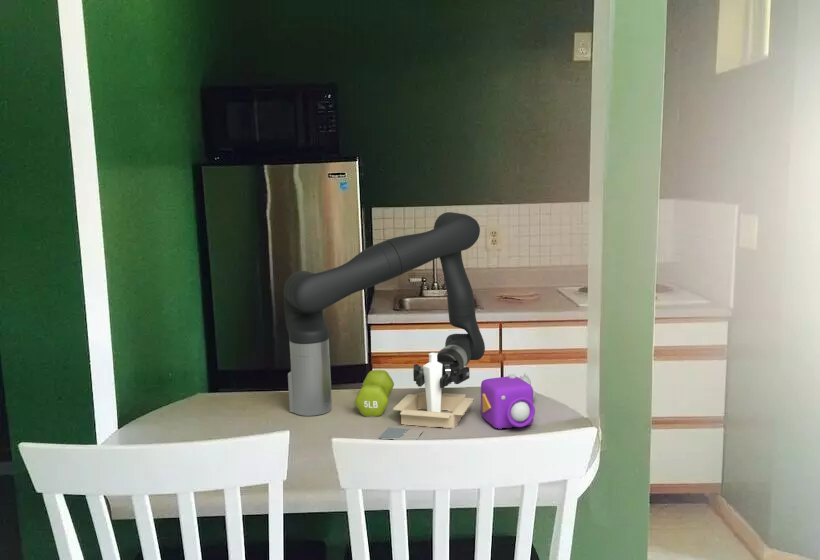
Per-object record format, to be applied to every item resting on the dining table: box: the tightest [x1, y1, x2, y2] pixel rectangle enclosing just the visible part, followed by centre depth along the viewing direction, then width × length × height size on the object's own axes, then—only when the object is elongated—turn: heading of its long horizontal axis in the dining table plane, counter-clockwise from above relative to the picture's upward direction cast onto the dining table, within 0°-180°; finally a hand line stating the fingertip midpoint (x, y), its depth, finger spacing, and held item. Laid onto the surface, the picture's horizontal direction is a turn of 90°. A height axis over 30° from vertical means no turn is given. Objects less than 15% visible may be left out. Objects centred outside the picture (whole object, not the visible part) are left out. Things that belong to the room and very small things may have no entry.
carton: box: [392, 391, 475, 428], centre depth 160 cm, size 16×16×4 cm
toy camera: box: [480, 373, 536, 430], centre depth 155 cm, size 11×14×10 cm
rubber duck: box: [519, 372, 537, 402], centre depth 169 cm, size 5×7×8 cm
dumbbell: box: [354, 369, 395, 418], centre depth 170 cm, size 16×8×7 cm, turn 175°
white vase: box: [422, 352, 443, 412], centre depth 160 cm, size 5×4×15 cm
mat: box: [379, 426, 411, 438], centre depth 151 cm, size 8×6×1 cm
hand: (430, 383), depth 157 cm, fingers closed on white vase, 4 cm apart
